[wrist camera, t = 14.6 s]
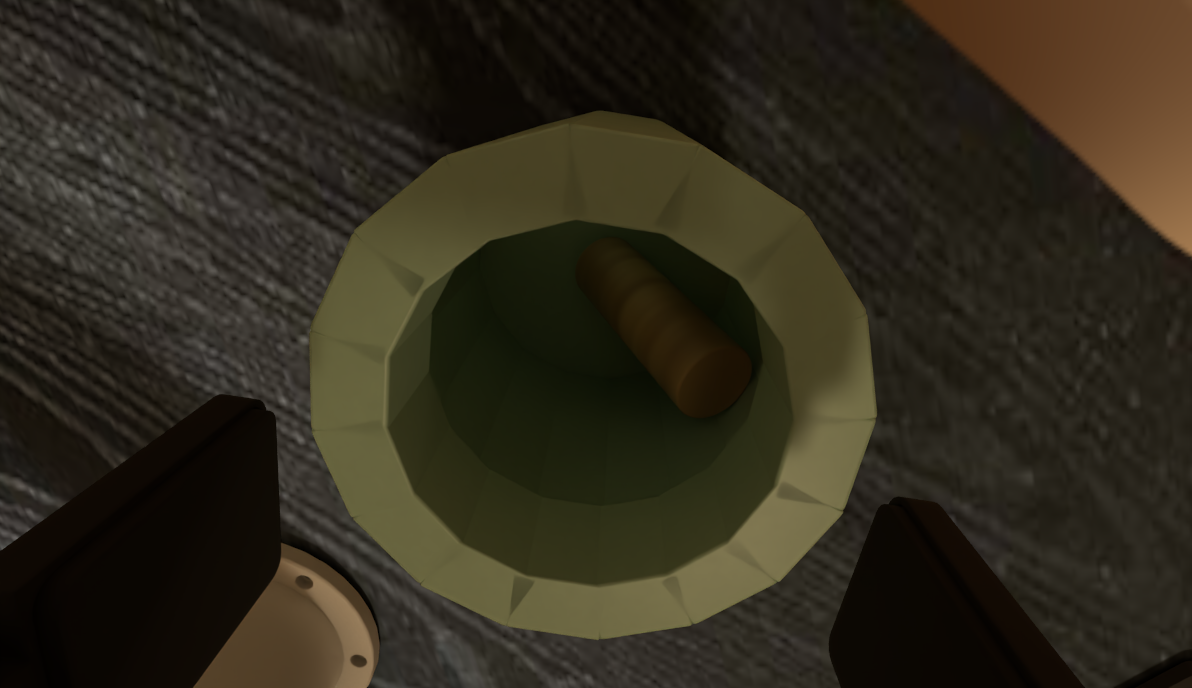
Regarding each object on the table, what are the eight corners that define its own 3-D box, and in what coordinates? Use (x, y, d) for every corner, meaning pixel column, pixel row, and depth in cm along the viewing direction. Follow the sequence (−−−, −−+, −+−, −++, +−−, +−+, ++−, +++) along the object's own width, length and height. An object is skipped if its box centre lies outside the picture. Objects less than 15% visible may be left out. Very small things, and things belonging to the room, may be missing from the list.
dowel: (569, 297, 24) (668, 424, 18) (580, 235, 23) (689, 349, 17) (627, 295, 26) (738, 414, 20) (641, 236, 24) (764, 343, 18)
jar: (460, 362, 27) (313, 598, 14) (481, 90, 23) (301, 79, 10) (711, 400, 28) (788, 669, 15) (775, 138, 24) (962, 186, 10)
